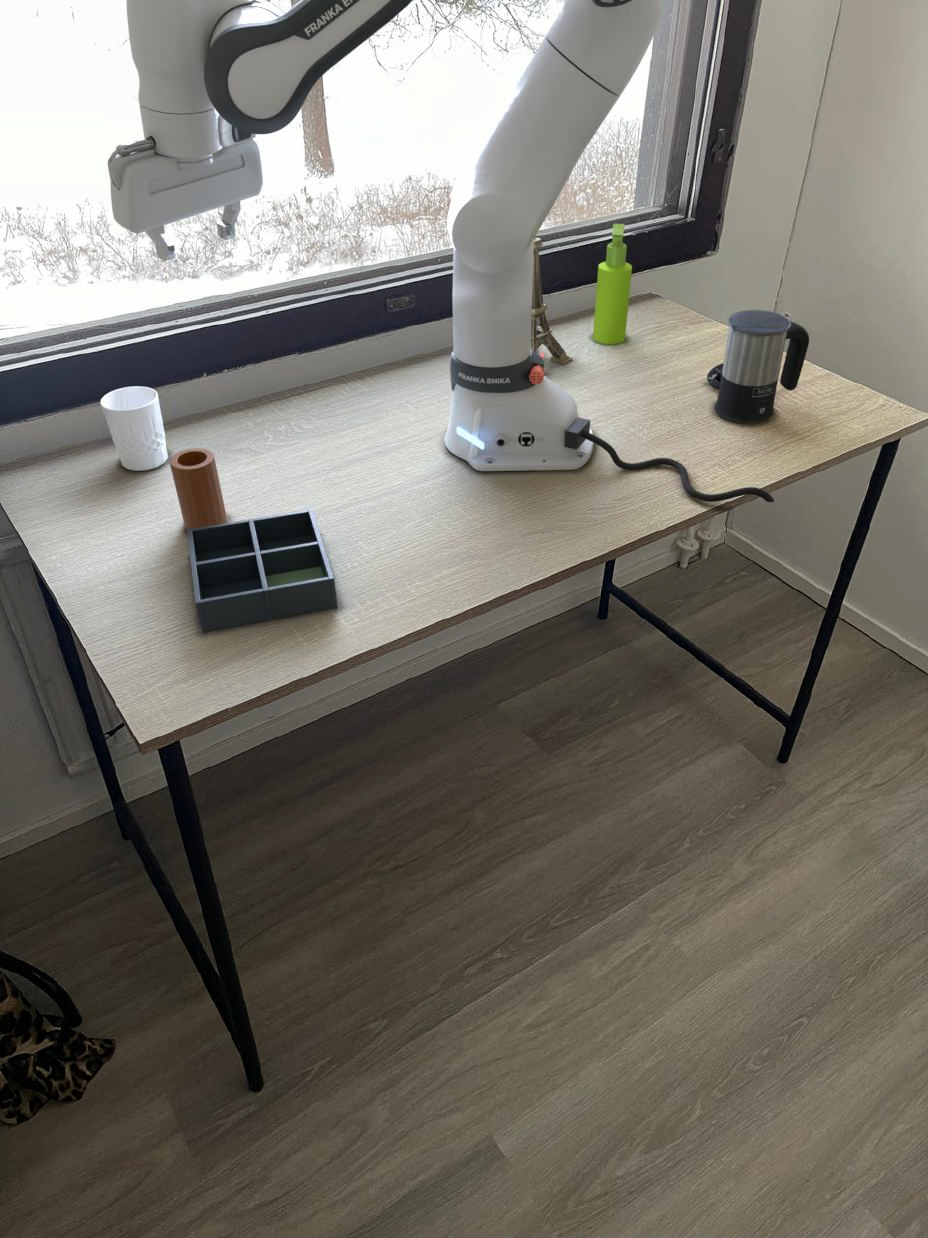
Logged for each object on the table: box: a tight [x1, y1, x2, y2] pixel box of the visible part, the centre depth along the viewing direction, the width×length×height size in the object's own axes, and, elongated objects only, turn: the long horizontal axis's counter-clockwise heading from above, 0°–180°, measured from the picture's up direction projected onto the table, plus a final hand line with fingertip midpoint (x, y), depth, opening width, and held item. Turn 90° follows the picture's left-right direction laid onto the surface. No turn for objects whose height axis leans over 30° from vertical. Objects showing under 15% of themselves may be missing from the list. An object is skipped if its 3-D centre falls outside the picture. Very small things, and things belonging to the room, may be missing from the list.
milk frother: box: [706, 309, 810, 425], centre depth 148 cm, size 14×16×15 cm
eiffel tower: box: [531, 235, 573, 366], centre depth 157 cm, size 11×11×25 cm
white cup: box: [99, 385, 169, 472], centre depth 136 cm, size 8×8×10 cm
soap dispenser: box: [592, 223, 633, 345], centre depth 166 cm, size 6×7×20 cm
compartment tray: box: [186, 508, 338, 633], centre depth 114 cm, size 16×16×4 cm
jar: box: [169, 447, 228, 531], centre depth 123 cm, size 6×6×10 cm
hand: (197, 247), depth 118 cm, fingers open, 8 cm apart
